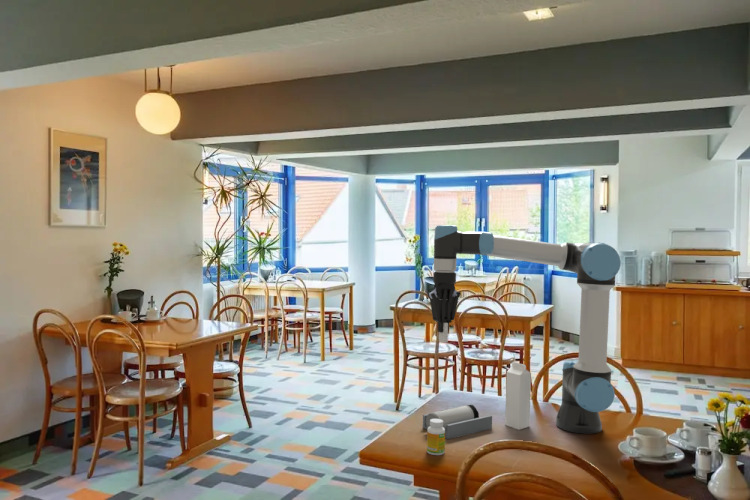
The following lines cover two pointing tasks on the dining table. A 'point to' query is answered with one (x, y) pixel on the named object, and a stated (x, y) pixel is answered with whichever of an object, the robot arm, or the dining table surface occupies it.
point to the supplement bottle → (436, 437)
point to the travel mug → (453, 415)
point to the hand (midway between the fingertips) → (443, 341)
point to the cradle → (465, 426)
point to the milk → (518, 396)
